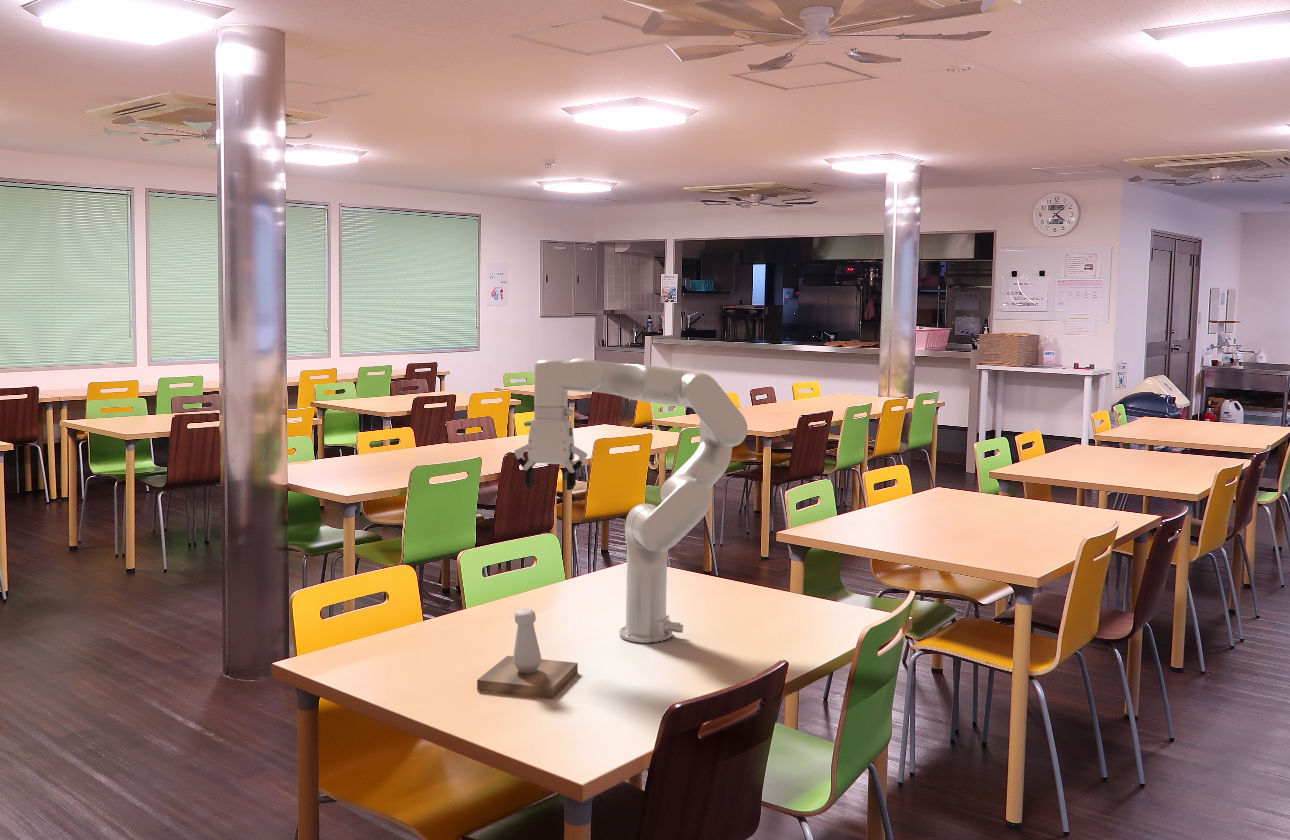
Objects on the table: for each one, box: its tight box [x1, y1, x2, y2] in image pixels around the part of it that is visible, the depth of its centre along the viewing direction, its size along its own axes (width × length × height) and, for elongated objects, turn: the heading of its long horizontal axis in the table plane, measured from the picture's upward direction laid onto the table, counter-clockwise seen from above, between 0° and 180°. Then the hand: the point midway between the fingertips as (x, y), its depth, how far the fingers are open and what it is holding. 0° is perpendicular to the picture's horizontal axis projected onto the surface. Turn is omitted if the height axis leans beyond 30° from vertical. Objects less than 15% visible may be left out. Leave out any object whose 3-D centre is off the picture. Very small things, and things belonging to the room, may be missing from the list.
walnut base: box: [476, 655, 579, 700], centre depth 215 cm, size 16×16×3 cm
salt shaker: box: [513, 608, 542, 674], centre depth 213 cm, size 6×6×13 cm
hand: (550, 488), depth 238 cm, fingers open, 9 cm apart
